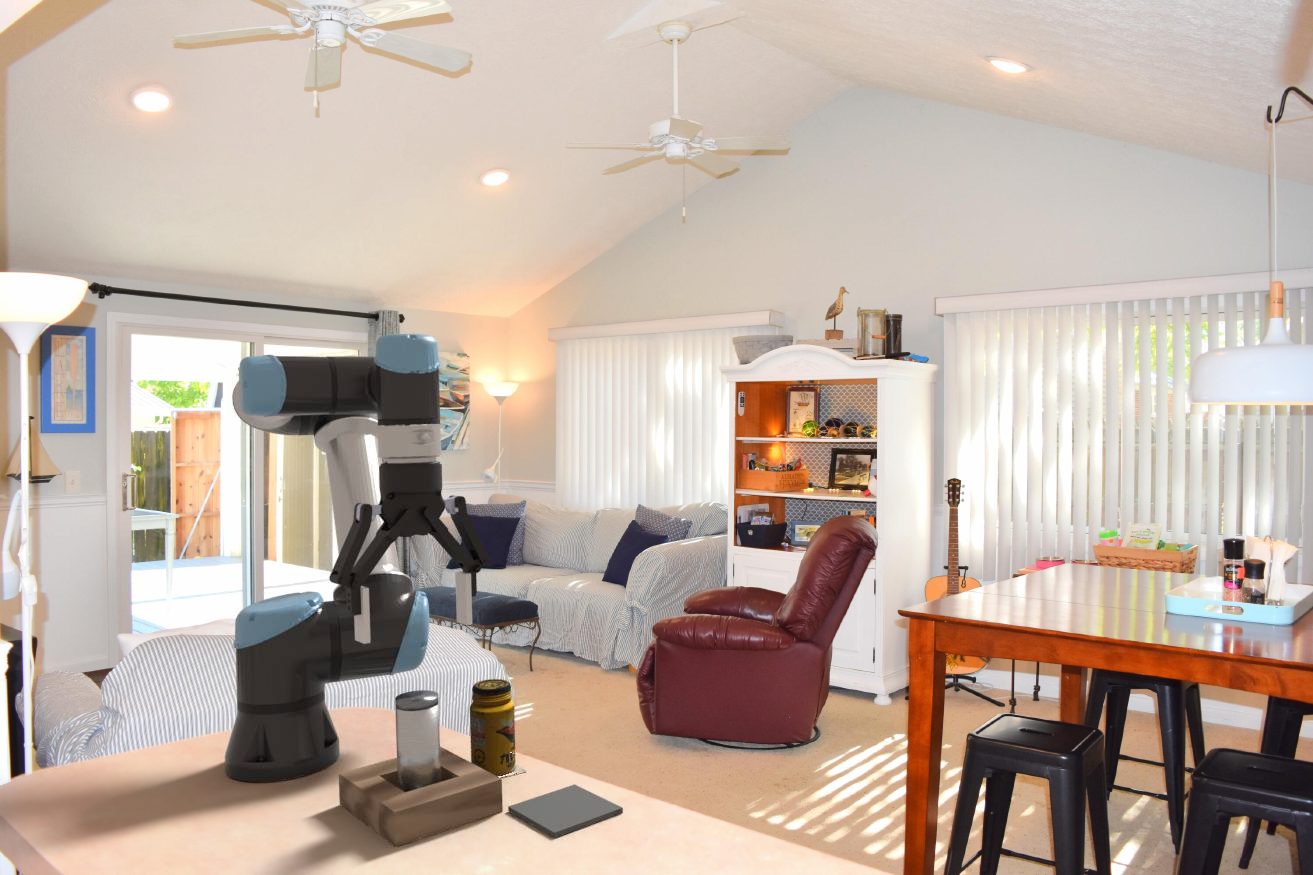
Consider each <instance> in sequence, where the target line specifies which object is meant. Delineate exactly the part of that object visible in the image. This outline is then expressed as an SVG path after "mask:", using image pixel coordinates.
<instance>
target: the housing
mask: <svg viewBox="0 0 1313 875" xmlns="http://www.w3.org/2000/svg"><path fill="white" fill-rule="evenodd" d="M440 769H441V782H439V783H436V784H432V785H429V786H426V787H422V788H419V789H416V790H412V791H409V792H404V791H402V790H401V789H399V788H398V776H397V757H393V758H390V759H387V760H383V761H382V760H381V761H380V762H376V763H372V764H368V765H365V766H360V767H358V768H357V767H356V768H353V769H350V770H349V769H348V770H346V771H343V772H339V773H338V788H339V789H338V791H339V792H338V794H339V795H338V797H339V798H338V799H339V806H341V807H342V808H344V809H345V811H347V812H349V813H350V814H351V815H352V816H354V817H356V818H357V819H358V820H359V821H360V822H362V823H363V824H364V825H366V826H367V827H369V829H371V830H372V831H374V832H375V833H377V834H378V835H379V836H380V837H382V838H383V839H385V841H387V842H389V843H390V844H391V845H393V847H394V848H397V847H400V846H403V845H406V844H409V843H412V842H416V841H418V840H421V839H424V838H428V837H430V836H433V835H436V834H439V833H442V832H445V831H448V830H451V829H454V828H457V827H460V826H463V825H466V824H469V823H471V822H474V821H478V820H481V819H483V818H487V817H489V816H492V815H496V814H499V813H502V812H503V811H504V810H503V809H504V808H503V778H499V777H497V776H495V775H493V774H491V773H490V772H488V771H486V770H484V769H482V768H480V767H478V766H476V765H474V764H473V763H471V761H469V760H467V759H465V758H463V757H462V756H459V755H458V754H455V753H453V752H451V751H450V750H448V749H446V748H444V747H442V746H440Z"/></svg>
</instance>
